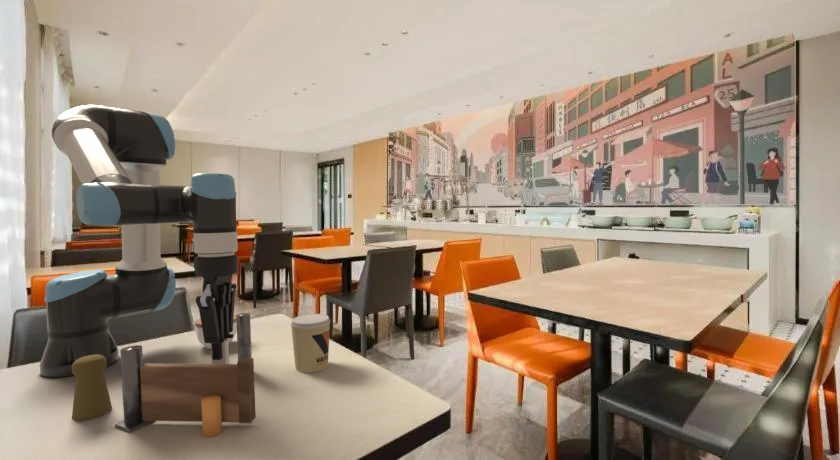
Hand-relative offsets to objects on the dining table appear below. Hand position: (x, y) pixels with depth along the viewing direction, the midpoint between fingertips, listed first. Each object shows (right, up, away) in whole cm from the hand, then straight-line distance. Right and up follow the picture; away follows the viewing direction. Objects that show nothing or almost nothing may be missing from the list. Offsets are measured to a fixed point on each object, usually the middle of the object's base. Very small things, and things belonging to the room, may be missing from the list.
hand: (220, 373), depth 79 cm
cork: (-24, -7, -2) cm, 25 cm away
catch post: (+3, -7, -9) cm, 12 cm away
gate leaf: (-1, -6, -6) cm, 9 cm away
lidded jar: (-19, -5, +36) cm, 41 cm away
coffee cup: (+13, -6, +20) cm, 24 cm away
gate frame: (-8, -7, +5) cm, 11 cm away
